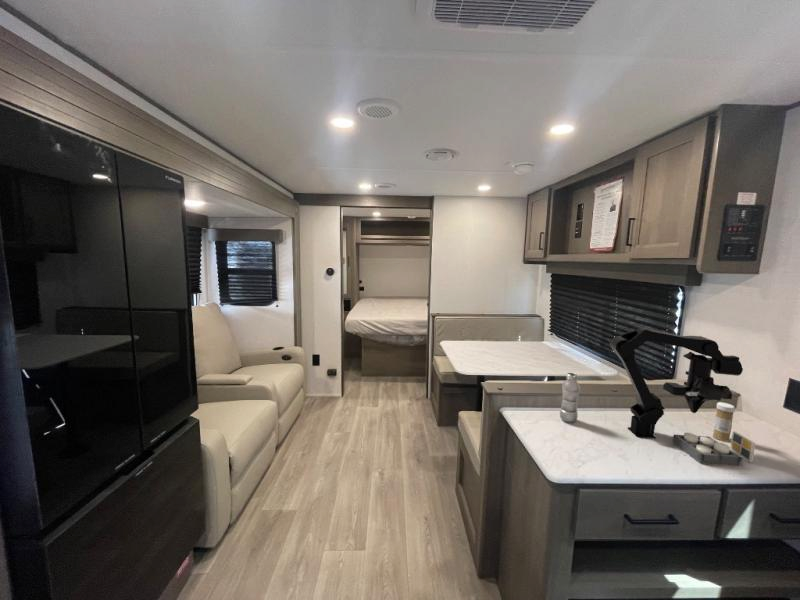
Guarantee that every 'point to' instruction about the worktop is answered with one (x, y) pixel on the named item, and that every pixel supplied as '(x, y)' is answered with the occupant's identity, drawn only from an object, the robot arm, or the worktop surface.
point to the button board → (706, 457)
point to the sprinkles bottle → (723, 421)
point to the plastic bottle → (570, 398)
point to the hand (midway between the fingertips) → (693, 412)
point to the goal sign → (742, 446)
